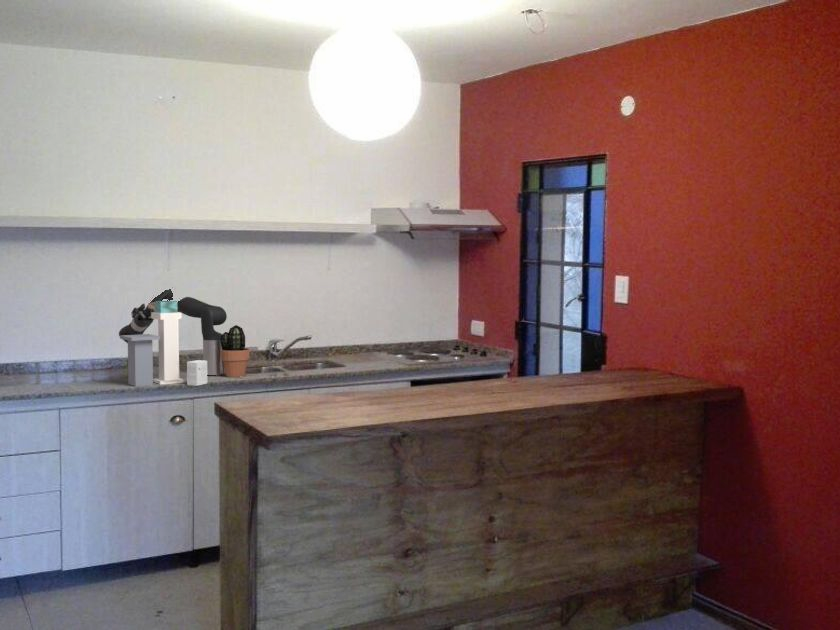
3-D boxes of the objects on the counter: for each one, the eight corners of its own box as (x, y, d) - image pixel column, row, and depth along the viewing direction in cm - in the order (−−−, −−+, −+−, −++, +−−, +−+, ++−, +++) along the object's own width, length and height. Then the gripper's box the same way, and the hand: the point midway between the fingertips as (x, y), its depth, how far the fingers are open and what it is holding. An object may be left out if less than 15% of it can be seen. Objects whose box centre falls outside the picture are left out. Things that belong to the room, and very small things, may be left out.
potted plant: (248, 374, 417) (247, 323, 416) (251, 377, 404) (251, 325, 403) (219, 375, 413) (219, 323, 411) (222, 378, 400) (221, 326, 398)
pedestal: (148, 381, 389) (148, 334, 387) (160, 385, 379) (160, 336, 378) (120, 384, 380) (119, 335, 379) (132, 387, 371) (131, 337, 369)
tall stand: (173, 379, 395) (173, 311, 393) (183, 382, 388) (182, 312, 386) (151, 382, 388) (150, 312, 386) (160, 384, 381) (159, 313, 378)
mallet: (159, 310, 401) (158, 299, 401) (177, 312, 386) (177, 301, 386) (142, 310, 396) (142, 300, 396) (160, 313, 381) (160, 302, 381)
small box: (197, 382, 387) (197, 359, 387) (207, 383, 385) (207, 360, 385) (186, 385, 380) (186, 361, 379) (197, 385, 378) (196, 362, 377)
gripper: (157, 327, 410) (169, 311, 399) (128, 328, 401) (139, 312, 390) (153, 313, 413) (165, 297, 402) (125, 314, 404) (136, 298, 393)
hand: (153, 305), depth 396 cm, fingers open, 8 cm apart
